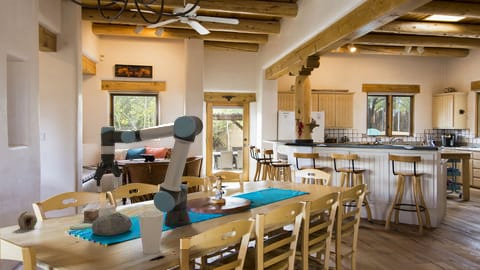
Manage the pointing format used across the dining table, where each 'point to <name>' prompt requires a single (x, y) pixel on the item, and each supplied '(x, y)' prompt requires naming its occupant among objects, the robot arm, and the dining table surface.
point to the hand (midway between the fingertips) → (107, 190)
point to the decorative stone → (111, 224)
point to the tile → (86, 221)
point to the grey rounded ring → (27, 220)
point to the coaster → (81, 226)
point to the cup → (151, 231)
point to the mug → (106, 209)
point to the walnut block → (91, 214)
